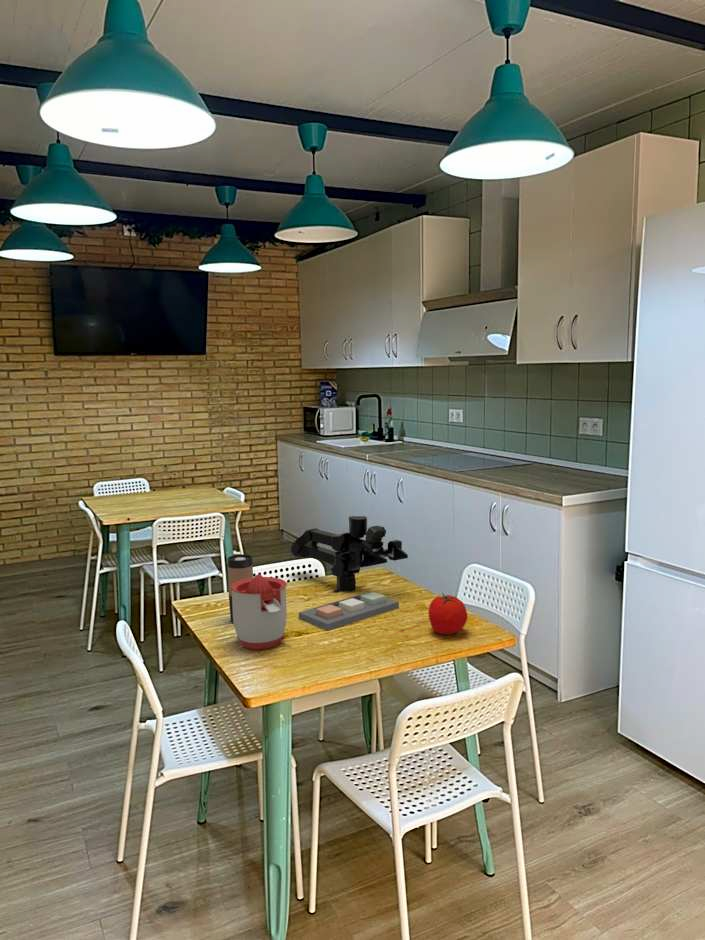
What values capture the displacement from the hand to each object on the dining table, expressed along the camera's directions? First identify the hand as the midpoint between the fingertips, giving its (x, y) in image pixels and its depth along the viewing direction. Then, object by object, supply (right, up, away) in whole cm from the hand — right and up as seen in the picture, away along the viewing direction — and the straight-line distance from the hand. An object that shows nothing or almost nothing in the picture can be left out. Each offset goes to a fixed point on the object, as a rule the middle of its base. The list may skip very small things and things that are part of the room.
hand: (397, 558), depth 224 cm
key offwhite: (-14, -15, -5) cm, 21 cm away
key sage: (-8, -14, +1) cm, 16 cm away
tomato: (+13, -19, -19) cm, 30 cm away
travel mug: (-48, -19, -6) cm, 52 cm away
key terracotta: (-21, -16, -11) cm, 29 cm away
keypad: (-15, -17, -4) cm, 23 cm away
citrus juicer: (-40, -21, -25) cm, 51 cm away
